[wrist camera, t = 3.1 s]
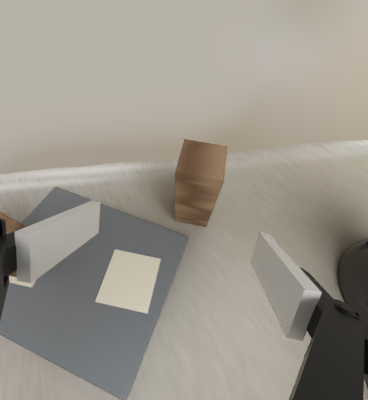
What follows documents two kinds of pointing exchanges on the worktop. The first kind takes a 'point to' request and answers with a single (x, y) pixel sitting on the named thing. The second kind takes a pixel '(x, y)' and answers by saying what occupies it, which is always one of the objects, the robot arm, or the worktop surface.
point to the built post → (11, 229)
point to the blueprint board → (96, 297)
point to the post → (198, 181)
